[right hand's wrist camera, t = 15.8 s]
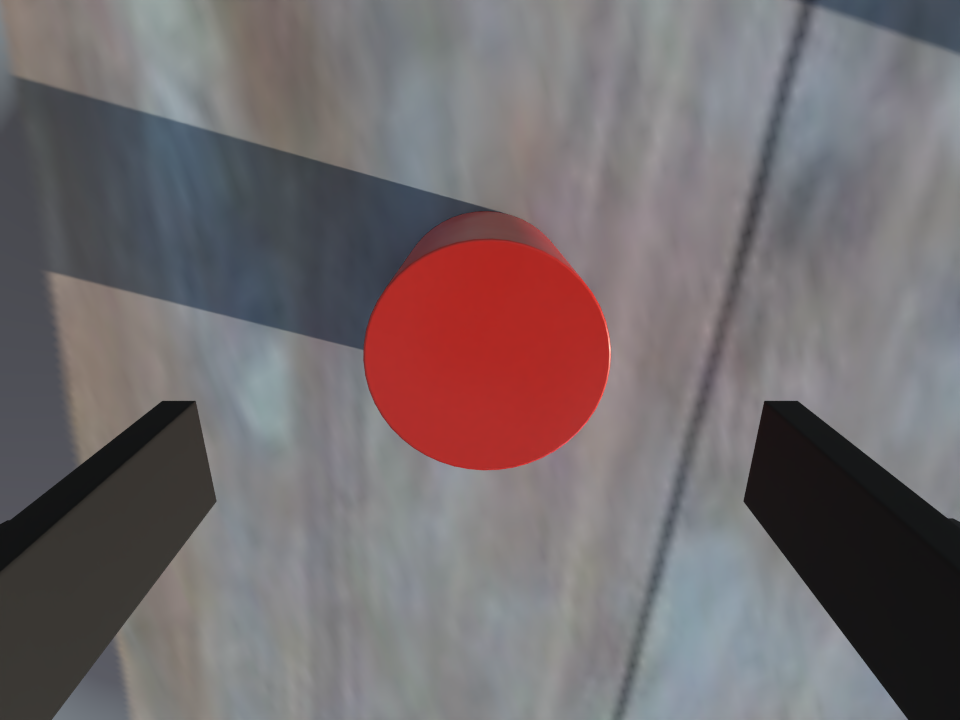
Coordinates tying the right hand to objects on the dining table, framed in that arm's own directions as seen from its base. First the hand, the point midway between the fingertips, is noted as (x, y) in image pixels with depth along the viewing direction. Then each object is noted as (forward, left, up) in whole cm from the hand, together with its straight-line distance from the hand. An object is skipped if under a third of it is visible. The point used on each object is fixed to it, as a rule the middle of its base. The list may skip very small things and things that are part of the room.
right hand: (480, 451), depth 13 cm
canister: (0, 0, -14) cm, 14 cm away
